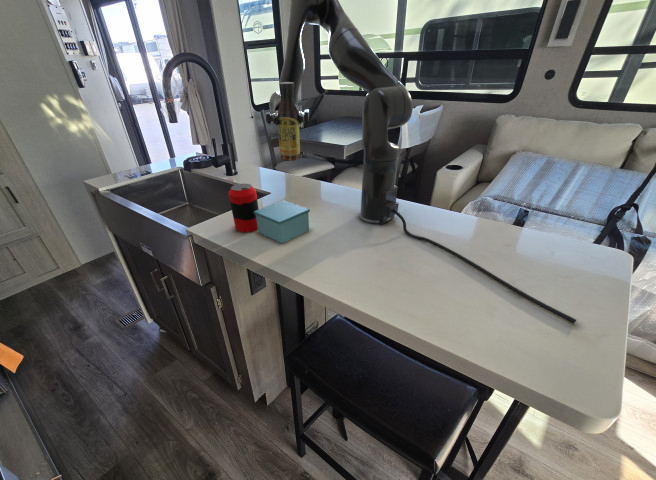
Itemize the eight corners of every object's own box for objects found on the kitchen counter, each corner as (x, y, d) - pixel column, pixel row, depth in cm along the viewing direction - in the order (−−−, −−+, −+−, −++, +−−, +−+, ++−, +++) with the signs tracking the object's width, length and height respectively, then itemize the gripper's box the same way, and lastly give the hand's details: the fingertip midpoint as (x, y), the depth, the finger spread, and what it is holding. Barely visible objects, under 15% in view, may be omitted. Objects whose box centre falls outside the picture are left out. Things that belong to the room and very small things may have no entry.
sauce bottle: (277, 161, 95) (269, 84, 83) (284, 156, 100) (277, 81, 88) (298, 162, 94) (292, 83, 81) (303, 156, 98) (299, 81, 86)
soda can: (242, 235, 88) (234, 193, 81) (231, 226, 93) (223, 186, 86) (265, 227, 92) (260, 187, 84) (253, 219, 97) (247, 180, 89)
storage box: (310, 230, 89) (309, 209, 85) (281, 244, 83) (279, 222, 79) (285, 220, 95) (283, 199, 92) (256, 232, 89) (253, 211, 86)
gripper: (262, 99, 99) (261, 106, 85) (307, 97, 100) (313, 103, 86) (265, 126, 103) (265, 136, 90) (308, 123, 104) (314, 133, 91)
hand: (288, 120), depth 88 cm, fingers closed on sauce bottle, 6 cm apart
